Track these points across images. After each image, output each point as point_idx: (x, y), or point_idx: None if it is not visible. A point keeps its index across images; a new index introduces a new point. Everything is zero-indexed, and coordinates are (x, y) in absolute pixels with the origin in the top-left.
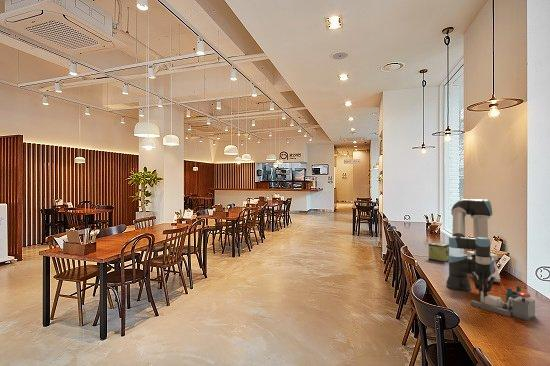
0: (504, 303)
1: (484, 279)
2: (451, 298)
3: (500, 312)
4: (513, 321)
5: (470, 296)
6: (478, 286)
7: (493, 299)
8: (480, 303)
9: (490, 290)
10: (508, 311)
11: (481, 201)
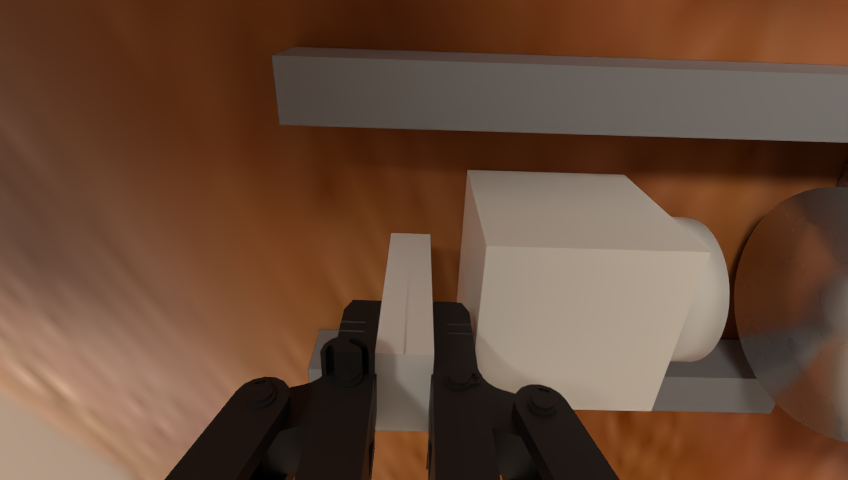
0: (700, 137)
1: None
2: (61, 335)
3: None
4: (762, 446)
5: (80, 8)
6: (263, 435)
7: (602, 405)
8: None
9: (565, 420)
10: (755, 408)
11: None
